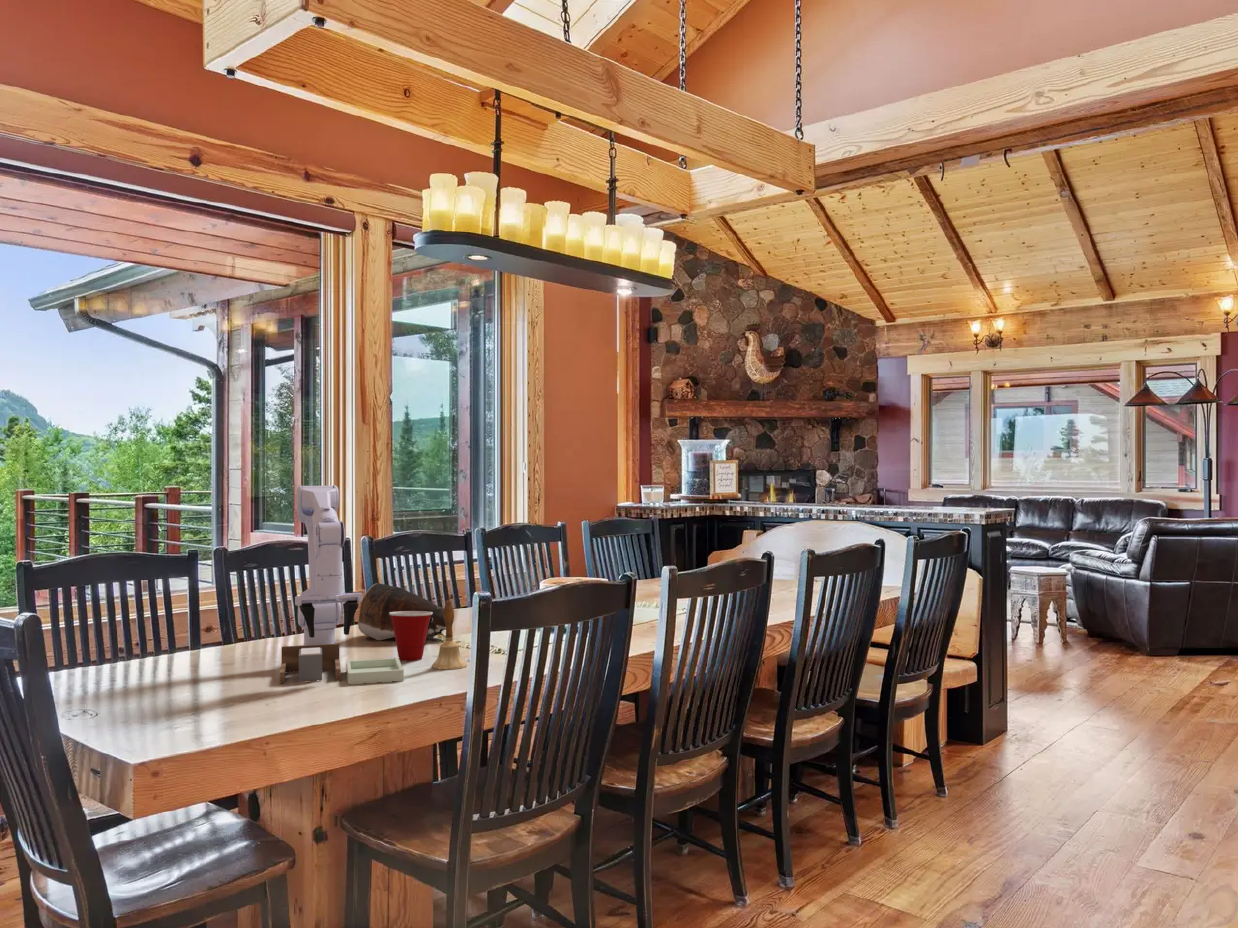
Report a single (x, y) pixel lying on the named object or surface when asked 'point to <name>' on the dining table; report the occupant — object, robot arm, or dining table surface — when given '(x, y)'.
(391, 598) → the clay pot
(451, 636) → the hand bell
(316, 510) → the robot arm
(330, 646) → the dock
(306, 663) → the grey upright block
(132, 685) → the dining table surface
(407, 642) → the plastic cup
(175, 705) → the dining table surface
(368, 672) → the tray
